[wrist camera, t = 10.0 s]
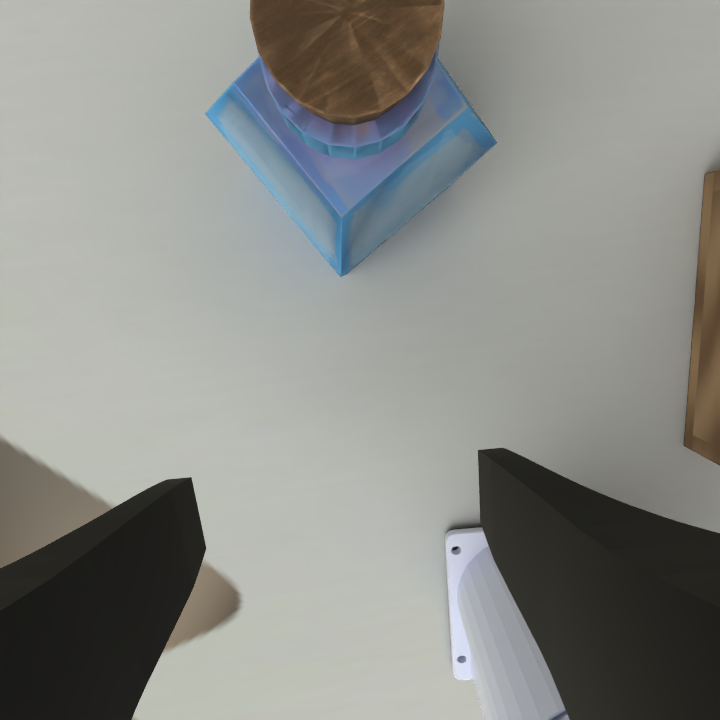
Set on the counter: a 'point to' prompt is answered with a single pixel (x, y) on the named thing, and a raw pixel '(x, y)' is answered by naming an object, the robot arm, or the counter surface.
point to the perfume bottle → (350, 118)
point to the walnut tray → (706, 334)
